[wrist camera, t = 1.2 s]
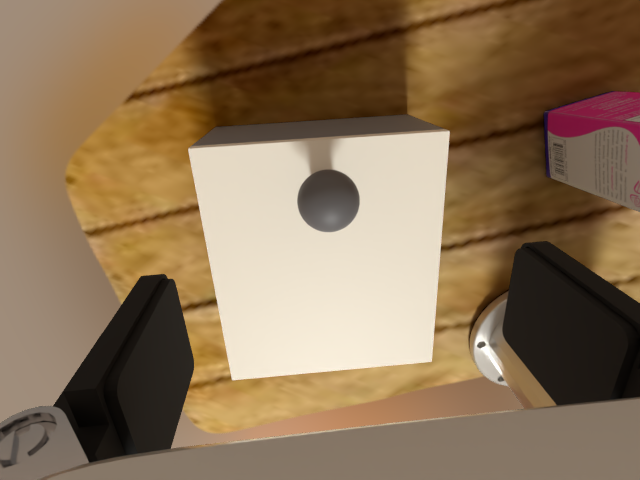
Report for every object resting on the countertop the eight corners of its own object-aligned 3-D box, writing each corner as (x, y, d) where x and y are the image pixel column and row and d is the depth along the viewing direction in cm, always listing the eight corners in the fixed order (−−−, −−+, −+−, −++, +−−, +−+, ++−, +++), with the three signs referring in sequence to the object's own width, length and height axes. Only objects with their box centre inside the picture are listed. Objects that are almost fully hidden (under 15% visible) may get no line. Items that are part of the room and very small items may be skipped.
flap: (444, 129, 23) (492, 147, 18) (428, 354, 30) (458, 418, 25) (191, 146, 23) (159, 170, 17) (233, 372, 30) (220, 441, 24)
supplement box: (613, 157, 33) (760, 198, 23) (544, 177, 34) (659, 226, 23) (615, 88, 31) (780, 98, 21) (542, 109, 31) (668, 130, 21)
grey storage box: (407, 114, 31) (444, 128, 23) (401, 298, 38) (427, 353, 30) (215, 126, 30) (191, 145, 23) (244, 311, 37) (233, 371, 30)
